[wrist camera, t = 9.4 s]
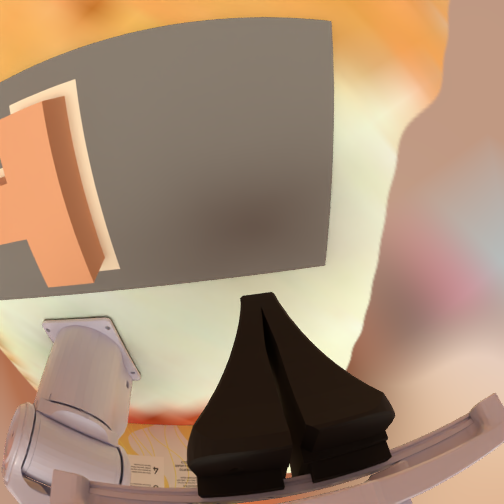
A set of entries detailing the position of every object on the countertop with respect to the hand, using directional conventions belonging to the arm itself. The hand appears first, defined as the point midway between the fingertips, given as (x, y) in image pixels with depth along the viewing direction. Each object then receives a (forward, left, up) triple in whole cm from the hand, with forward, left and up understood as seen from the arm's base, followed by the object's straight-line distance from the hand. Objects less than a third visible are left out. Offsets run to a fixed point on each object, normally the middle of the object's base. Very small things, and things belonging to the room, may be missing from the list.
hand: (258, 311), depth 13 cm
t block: (+4, +16, -9) cm, 19 cm away
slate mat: (+4, +9, -9) cm, 14 cm away
